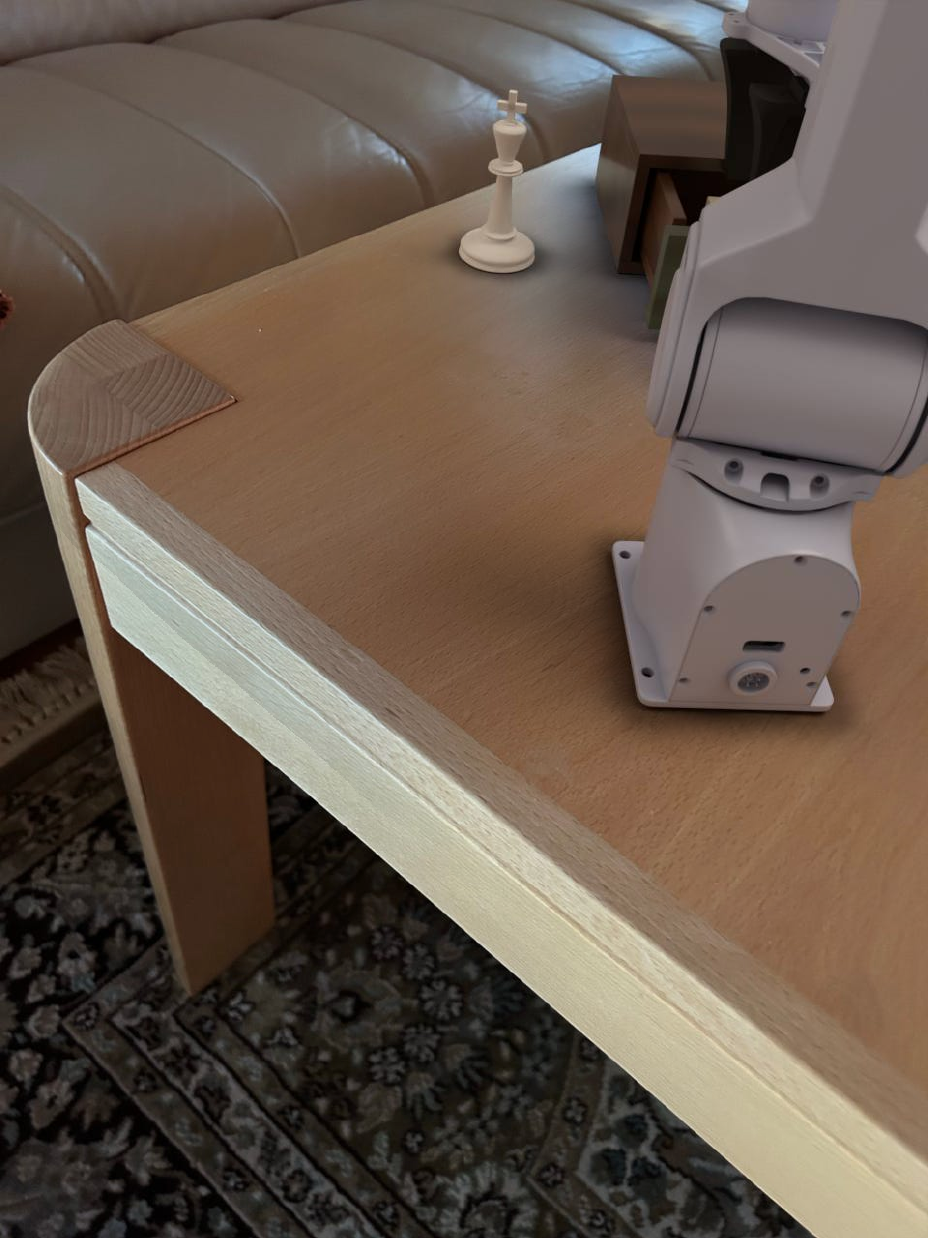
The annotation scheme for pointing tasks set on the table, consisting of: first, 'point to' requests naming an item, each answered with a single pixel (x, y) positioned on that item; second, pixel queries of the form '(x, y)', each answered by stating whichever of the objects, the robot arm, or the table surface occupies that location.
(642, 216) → the drawer
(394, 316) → the table surface
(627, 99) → the cabinet
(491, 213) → the chess piece
